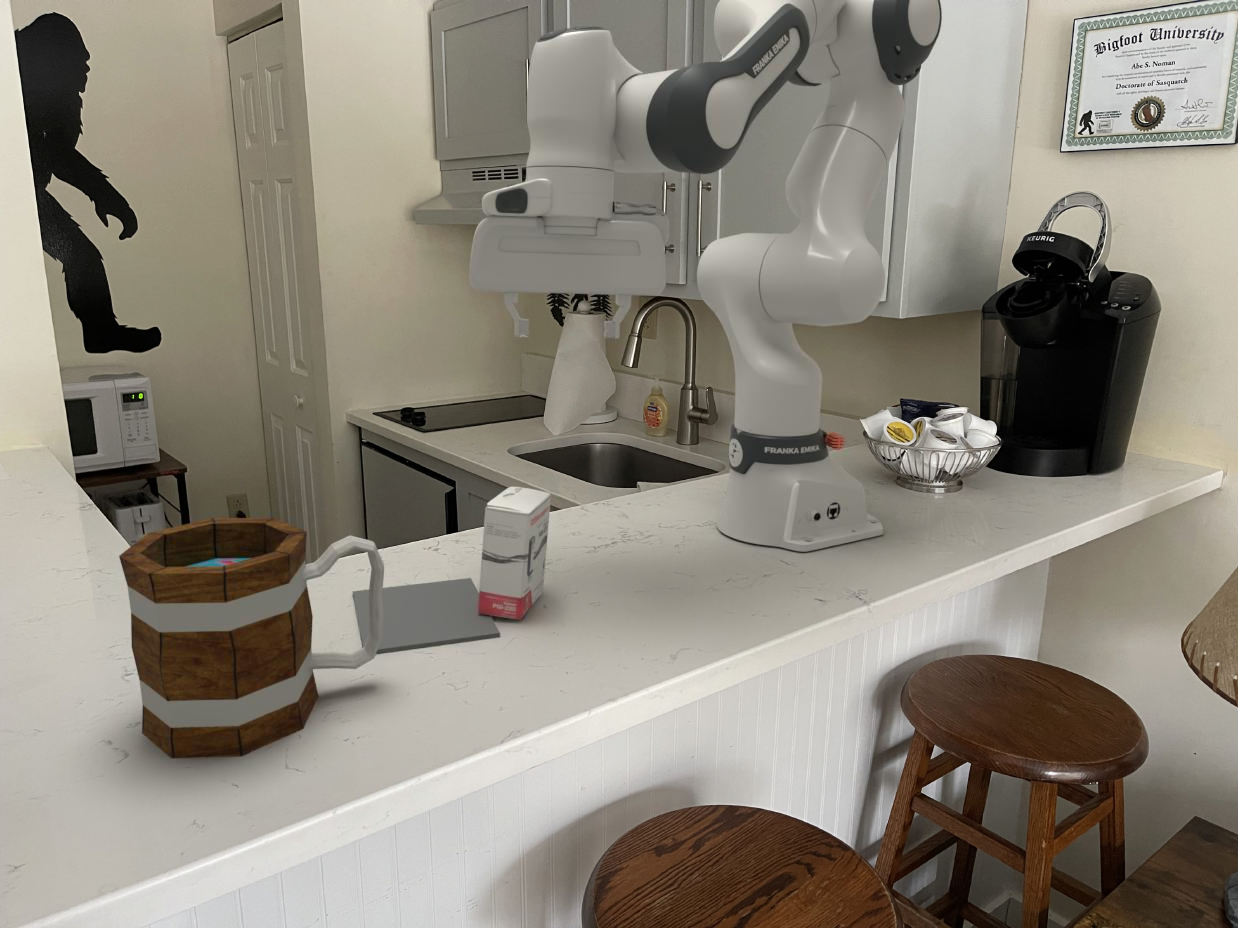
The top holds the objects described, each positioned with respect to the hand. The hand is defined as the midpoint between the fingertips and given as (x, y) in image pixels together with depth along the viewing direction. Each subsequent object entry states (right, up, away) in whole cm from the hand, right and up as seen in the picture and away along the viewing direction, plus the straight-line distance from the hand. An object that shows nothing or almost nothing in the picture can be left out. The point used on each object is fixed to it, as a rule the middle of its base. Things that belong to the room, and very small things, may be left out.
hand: (566, 337), depth 94 cm
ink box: (-6, -28, +2) cm, 29 cm away
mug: (-24, -34, -18) cm, 45 cm away
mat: (-15, -29, -1) cm, 33 cm away
